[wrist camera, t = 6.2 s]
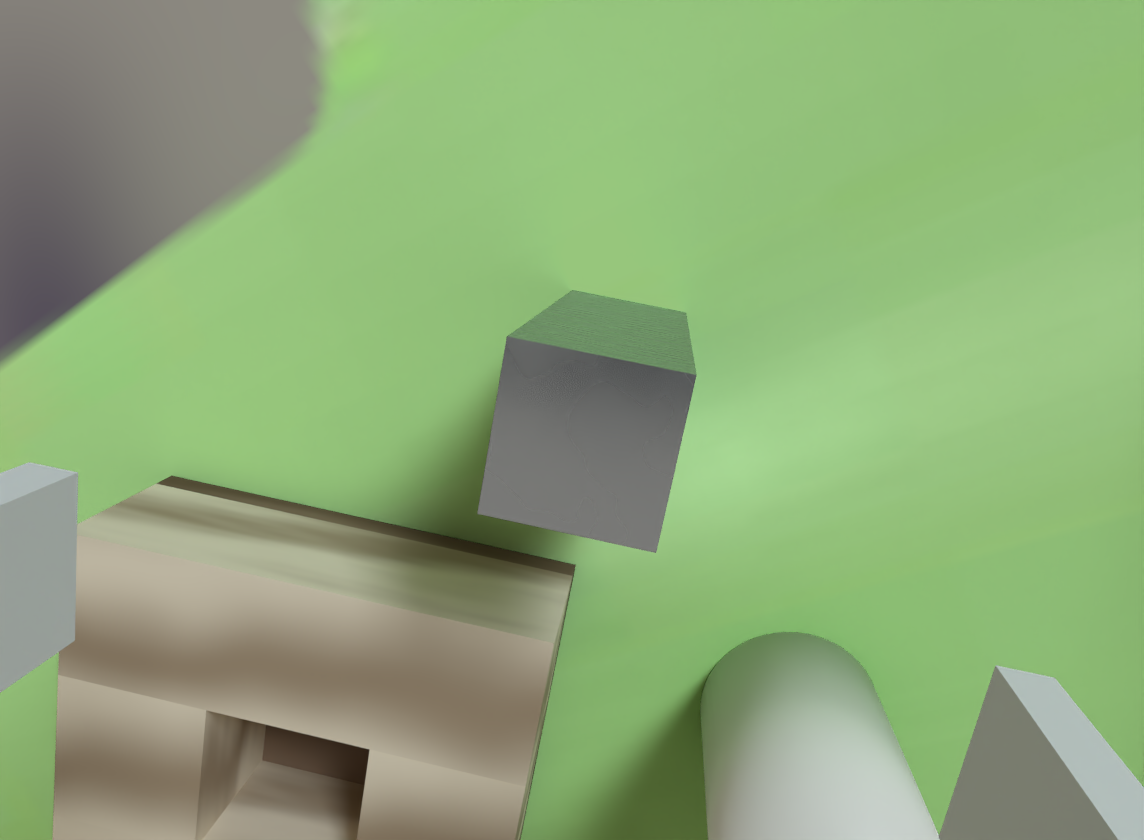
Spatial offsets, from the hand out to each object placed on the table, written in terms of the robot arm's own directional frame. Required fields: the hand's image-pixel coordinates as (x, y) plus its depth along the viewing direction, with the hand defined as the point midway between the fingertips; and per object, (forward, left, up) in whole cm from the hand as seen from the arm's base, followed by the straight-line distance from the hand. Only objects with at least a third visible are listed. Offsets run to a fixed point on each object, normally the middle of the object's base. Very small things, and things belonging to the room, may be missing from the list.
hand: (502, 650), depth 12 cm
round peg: (+11, +9, -19) cm, 23 cm away
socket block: (+15, -8, -19) cm, 25 cm away
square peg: (-1, 0, -19) cm, 19 cm away
